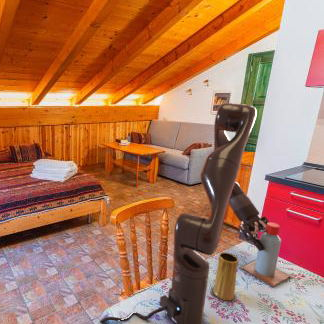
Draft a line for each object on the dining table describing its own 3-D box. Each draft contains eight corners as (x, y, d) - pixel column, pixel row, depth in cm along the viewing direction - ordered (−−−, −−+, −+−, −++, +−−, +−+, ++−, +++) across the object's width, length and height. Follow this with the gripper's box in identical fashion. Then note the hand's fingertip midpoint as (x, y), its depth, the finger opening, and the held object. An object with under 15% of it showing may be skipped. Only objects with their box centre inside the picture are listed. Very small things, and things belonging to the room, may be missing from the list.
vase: (213, 297, 83) (218, 259, 79) (212, 285, 88) (217, 249, 85) (234, 303, 80) (240, 265, 77) (233, 290, 85) (238, 254, 82)
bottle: (268, 278, 90) (277, 231, 86) (251, 268, 95) (259, 224, 91) (277, 273, 93) (287, 227, 88) (260, 264, 98) (268, 220, 93)
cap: (274, 236, 88) (276, 228, 87) (263, 231, 91) (264, 223, 90) (280, 233, 89) (281, 225, 88) (269, 229, 92) (270, 221, 92)
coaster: (273, 286, 87) (273, 285, 87) (241, 268, 96) (241, 267, 96) (290, 277, 91) (290, 276, 91) (258, 260, 101) (258, 259, 101)
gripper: (238, 206, 93) (267, 249, 86) (261, 199, 99) (290, 239, 91) (223, 214, 99) (249, 254, 91) (245, 207, 105) (271, 245, 97)
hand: (269, 247), depth 91 cm, fingers open, 8 cm apart
